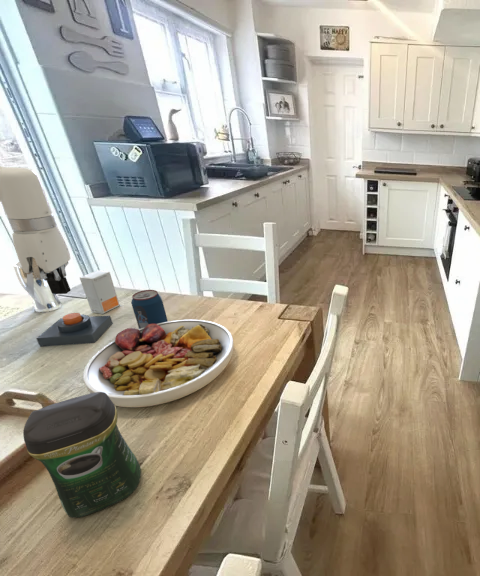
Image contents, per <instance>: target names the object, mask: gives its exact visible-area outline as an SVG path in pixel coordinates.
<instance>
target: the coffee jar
mask: <svg viewBox="0 0 480 576" xmlns="http://www.w3.org/2000/svg"><path fill="white" fill-rule="evenodd" d="M22 432H23V441H24V443H25V448H26V451H27V453H28V455H30V456H31V457H32V458H33V459H35V460H37V461H38V462H40V463H41V464H42V465H43V466H44V467H45V469H46V470H47V472H48V474H49V476H50V478H51V480H52V482H53V485H54V487H55V491H56V493H57V496H58V498H59V502H60V504H61V506H62V508H63V510H64V512H65V514H66V516H68V517H70V518H74V519H79V518H83V517H86V516H89V515H92V514H95V513H98V512H100V511H103V510H104V509H107V508H109V507H112V506H113V505H116V504H117V503H119V502H121V501H124V500H125V499H127V498H128V497H130V496H131V495H132V494H133V493H134V492H135V491H136V489H137V488H138V487H139V484H140V482H141V476H142V475H141V474H142V470H141V464H140V463H139V460H138V459H137V457H136V455H135V454H134V452H133V450H132V449H131V448H130V446H129V445H128V443H127V442H126V440H125V438H124V437H123V435H122V434H121V432H120V430H119V428H118V410H117V406H115V405H114V404H113V402H112V401H111V400H110V398H109V396H108V395H107V394H106V393H104V392H95V393H90V392H89V393H87V394H83V395H78V396H76V397H75V396H74V397H72V398H68V399H65V400H62V401H59V402H55V403H52V404H50V405H46V406H44V407H41V408H39V409H36V410H33V411H31V413H30V414H29V416H28V417H27V419H26V421H25V424H24V426H23V431H22Z"/></svg>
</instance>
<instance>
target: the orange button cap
mask: <svg viewBox="0 0 480 576" xmlns="http://www.w3.org/2000/svg"><path fill="white" fill-rule="evenodd" d="M62 318H63V321H64V323H65V325H71V324H75V323H78V322H81V321H82V317H81V313H80V312H71V313H68V314H65V315H64V316H62Z"/></svg>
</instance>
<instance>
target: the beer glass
mask: <svg viewBox="0 0 480 576" xmlns="http://www.w3.org/2000/svg"><path fill="white" fill-rule="evenodd" d="M12 265H13V268H14V269H13V270H14V272H15V276H16V277H17V279H18V282H19V283H20V286H22V288H23V290H24V291H25V292H26V293H27V294H28V296H29V297H30V298H31V300H32V303H33V307H34V311H35V312H36V313H40V312H42V314H43V313H49V311H50V312H54V311H56V310H58V309H61V308H62V306H63V303H62V302H61V300H60V299H59V297H58V296H57V294H52V292H51V290H50V287H49V285H48V283H47V281H45V280H44V279H38V280H36V279H35V277H34V273H33V272H32V273H25V272H24V271H23V269H22V267H21V264H20V262H19V261H18V262H16V263H14V264H12Z"/></svg>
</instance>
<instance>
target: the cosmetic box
mask: <svg viewBox="0 0 480 576" xmlns="http://www.w3.org/2000/svg"><path fill="white" fill-rule="evenodd" d="M79 280H80V283H81V286H82V289H83V291H84V294H85V297H86V300H87V303H88V306H89V309H90V311H91V313H94V314H99V315H104V314H107V312H110V311H112V310H113V309H116V308H118V307H120V300H119V297H118V295H117V291H116V288H115V285H114V281H113V278H112V275H111V272H110V271H106V270H101V269H97V270H95V271H92V272H89V273H87V274H85V275H82V276H79Z"/></svg>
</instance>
